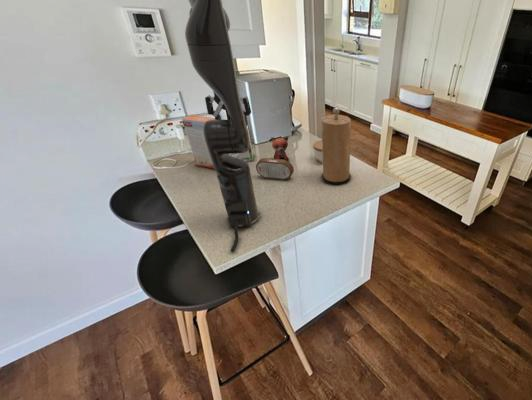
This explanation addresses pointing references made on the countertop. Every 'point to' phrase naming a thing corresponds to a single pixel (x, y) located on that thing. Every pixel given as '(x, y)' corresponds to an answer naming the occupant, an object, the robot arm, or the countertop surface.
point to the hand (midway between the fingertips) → (232, 126)
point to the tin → (274, 168)
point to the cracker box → (198, 139)
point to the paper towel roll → (336, 148)
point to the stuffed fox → (280, 147)
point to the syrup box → (249, 154)
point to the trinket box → (318, 150)
